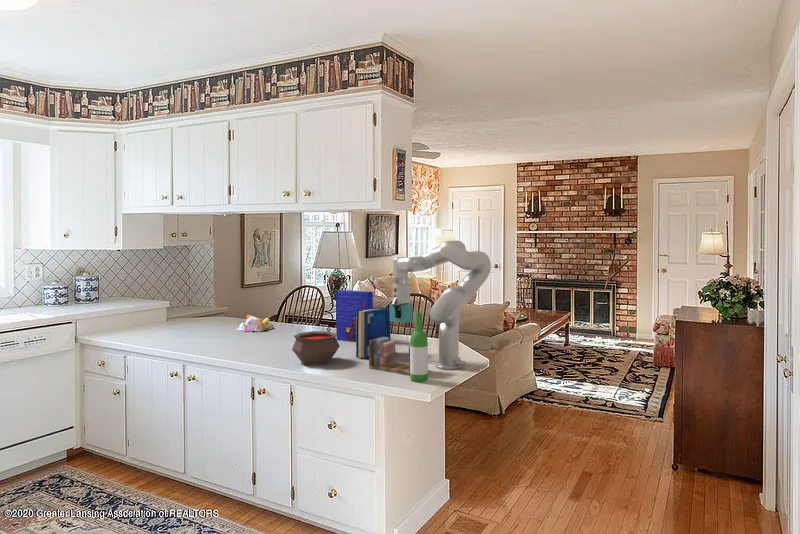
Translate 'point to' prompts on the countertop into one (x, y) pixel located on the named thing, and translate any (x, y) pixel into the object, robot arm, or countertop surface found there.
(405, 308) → the teal book
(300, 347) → the brown bowl
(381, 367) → the shelf
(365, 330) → the book
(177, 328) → the countertop surface
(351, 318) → the cereal box
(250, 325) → the candy landscape model
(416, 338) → the wine bottle
